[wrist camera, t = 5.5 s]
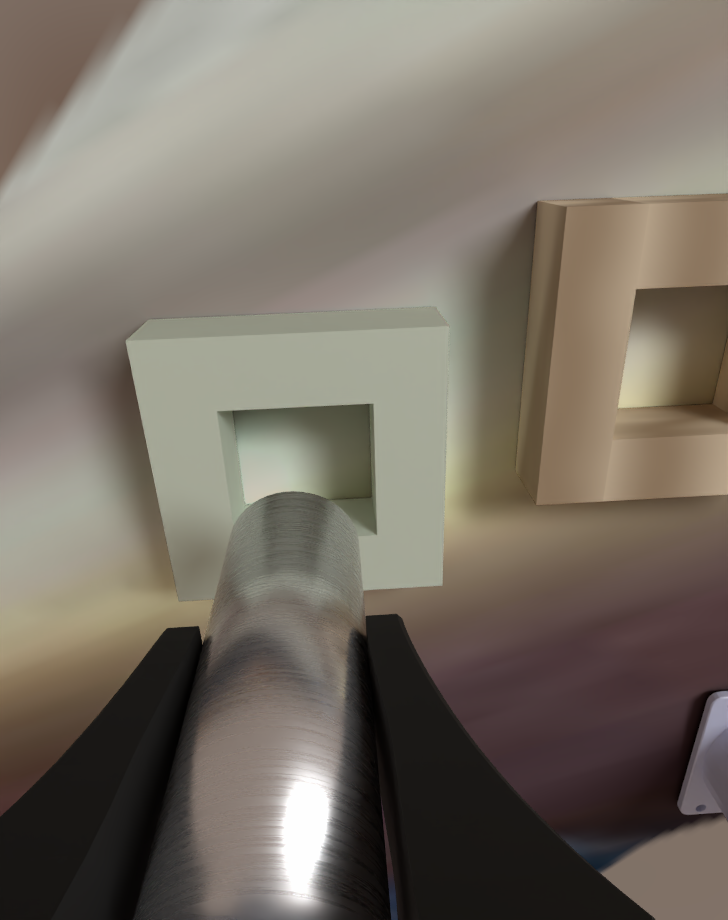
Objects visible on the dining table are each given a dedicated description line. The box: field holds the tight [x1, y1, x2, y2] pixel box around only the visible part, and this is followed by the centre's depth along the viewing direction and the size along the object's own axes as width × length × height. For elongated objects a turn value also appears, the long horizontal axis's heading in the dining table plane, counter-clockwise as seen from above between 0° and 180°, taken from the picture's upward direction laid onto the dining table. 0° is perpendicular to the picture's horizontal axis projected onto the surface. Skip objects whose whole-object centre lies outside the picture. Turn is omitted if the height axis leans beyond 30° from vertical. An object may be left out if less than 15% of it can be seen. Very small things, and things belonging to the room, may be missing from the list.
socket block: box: [515, 194, 728, 505], centre depth 20 cm, size 9×9×2 cm
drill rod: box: [133, 491, 391, 920], centre depth 11 cm, size 3×3×9 cm
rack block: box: [126, 307, 450, 601], centre depth 20 cm, size 9×9×2 cm
